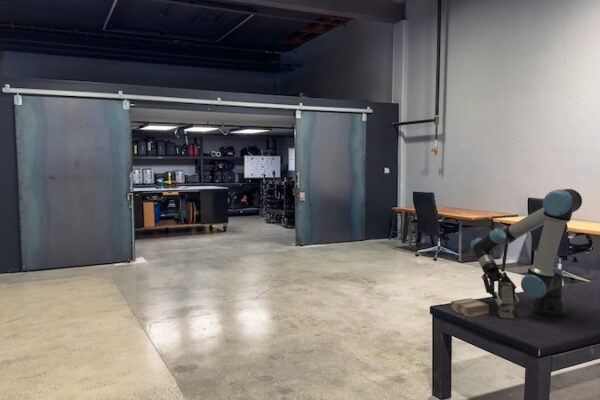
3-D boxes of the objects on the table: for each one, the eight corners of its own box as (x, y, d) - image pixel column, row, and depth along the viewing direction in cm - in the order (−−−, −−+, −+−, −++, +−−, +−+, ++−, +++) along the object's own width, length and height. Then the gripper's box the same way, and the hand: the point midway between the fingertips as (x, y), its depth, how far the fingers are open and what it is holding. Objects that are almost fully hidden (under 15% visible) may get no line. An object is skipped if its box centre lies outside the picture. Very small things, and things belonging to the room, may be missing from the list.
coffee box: (514, 318, 236) (515, 286, 235) (500, 317, 237) (501, 285, 236) (510, 312, 245) (511, 281, 243) (497, 312, 246) (497, 281, 245)
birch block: (488, 314, 244) (489, 304, 244) (468, 317, 239) (468, 307, 239) (470, 307, 256) (471, 298, 256) (451, 310, 251) (451, 301, 251)
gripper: (502, 267, 258) (523, 304, 244) (467, 270, 252) (486, 309, 238) (509, 259, 253) (531, 297, 239) (473, 262, 246) (493, 301, 233)
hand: (508, 303), depth 238 cm, fingers closed on coffee box, 9 cm apart
